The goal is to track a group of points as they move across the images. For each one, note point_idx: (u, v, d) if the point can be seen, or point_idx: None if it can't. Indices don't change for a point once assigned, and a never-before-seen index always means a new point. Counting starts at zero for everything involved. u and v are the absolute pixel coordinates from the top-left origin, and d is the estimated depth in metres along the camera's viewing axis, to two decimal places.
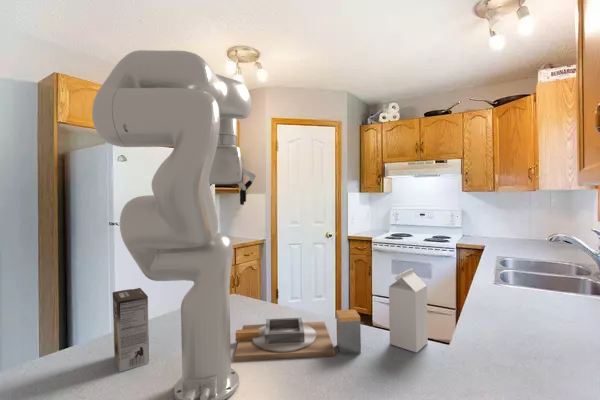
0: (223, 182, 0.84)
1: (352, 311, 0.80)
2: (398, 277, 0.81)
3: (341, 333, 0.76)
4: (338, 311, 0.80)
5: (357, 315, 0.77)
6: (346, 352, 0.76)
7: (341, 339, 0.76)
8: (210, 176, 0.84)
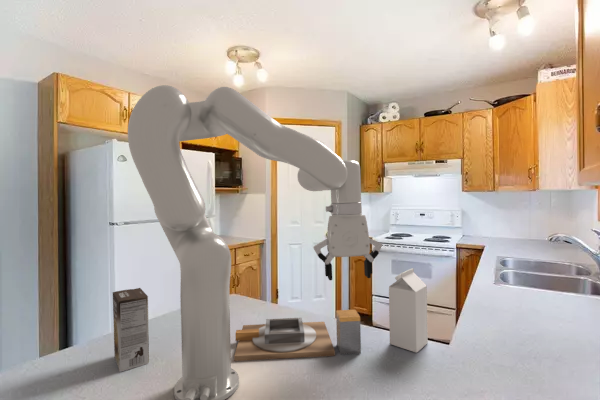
0: (351, 255, 0.76)
1: (352, 311, 0.80)
2: (398, 277, 0.81)
3: (341, 333, 0.76)
4: (338, 311, 0.80)
5: (357, 315, 0.77)
6: (346, 352, 0.76)
7: (341, 339, 0.76)
8: (337, 249, 0.76)
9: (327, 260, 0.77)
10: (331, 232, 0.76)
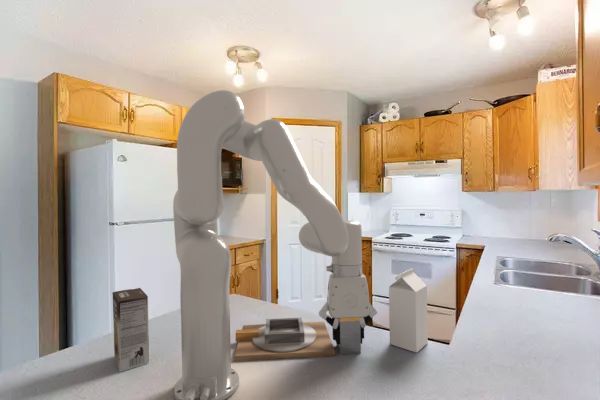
0: (351, 317, 0.76)
1: None
2: (398, 277, 0.81)
3: (341, 333, 0.76)
4: None
5: None
6: (346, 352, 0.76)
7: (341, 339, 0.76)
8: (337, 311, 0.76)
9: (334, 325, 0.77)
10: (332, 294, 0.76)
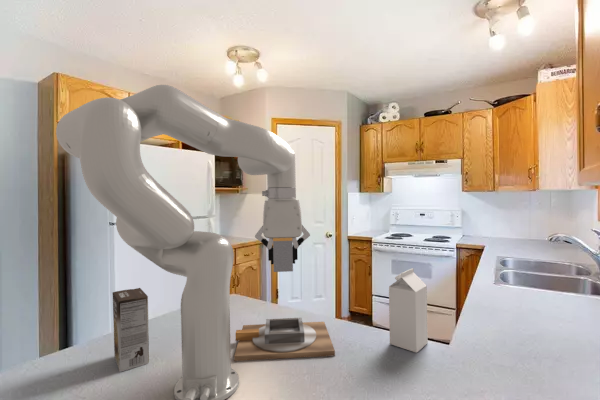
0: (283, 237, 0.81)
1: None
2: (398, 277, 0.81)
3: (274, 252, 0.81)
4: None
5: None
6: (279, 270, 0.81)
7: (274, 257, 0.81)
8: (270, 231, 0.80)
9: (269, 245, 0.82)
10: (265, 215, 0.81)
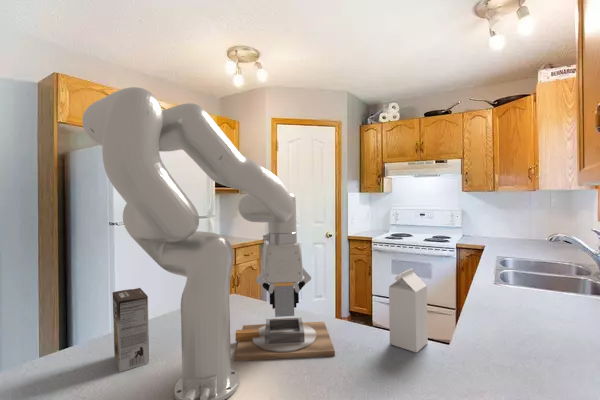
0: (284, 282, 0.81)
1: None
2: (398, 277, 0.81)
3: (275, 297, 0.81)
4: None
5: None
6: (280, 314, 0.81)
7: (275, 302, 0.81)
8: (271, 276, 0.81)
9: (270, 290, 0.82)
10: (266, 260, 0.81)
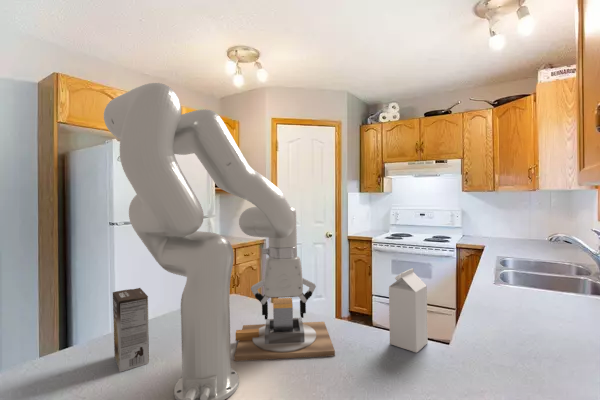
0: (284, 296, 0.81)
1: (288, 299, 0.85)
2: (398, 277, 0.81)
3: (274, 319, 0.81)
4: (275, 299, 0.85)
5: (290, 302, 0.82)
6: None
7: (274, 325, 0.81)
8: (271, 290, 0.81)
9: (263, 300, 0.82)
10: (266, 274, 0.81)
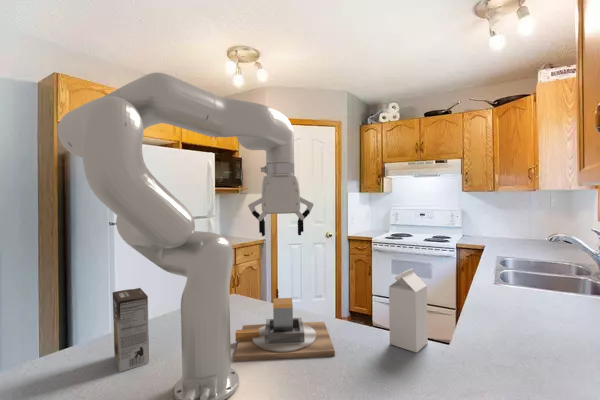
0: (281, 212, 0.81)
1: (288, 299, 0.85)
2: (398, 277, 0.81)
3: (274, 319, 0.81)
4: (275, 299, 0.85)
5: (290, 302, 0.82)
6: None
7: (274, 325, 0.81)
8: (268, 206, 0.81)
9: (260, 217, 0.82)
10: (264, 190, 0.81)
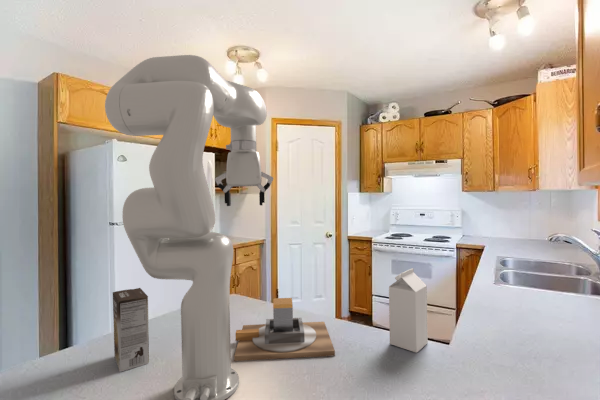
0: (244, 184, 0.91)
1: (288, 299, 0.85)
2: (398, 277, 0.81)
3: (274, 319, 0.81)
4: (275, 299, 0.85)
5: (290, 302, 0.82)
6: None
7: (274, 325, 0.81)
8: (232, 179, 0.91)
9: (225, 189, 0.92)
10: (228, 165, 0.91)
